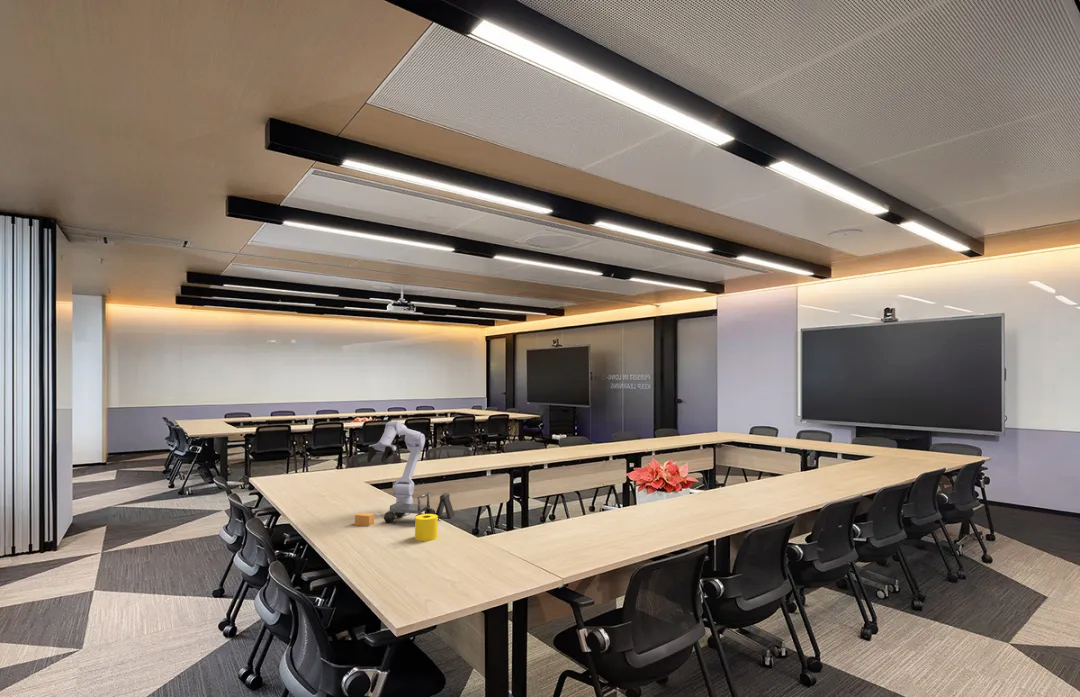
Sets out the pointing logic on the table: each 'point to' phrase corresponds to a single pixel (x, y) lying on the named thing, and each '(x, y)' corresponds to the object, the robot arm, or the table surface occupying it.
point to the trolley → (408, 509)
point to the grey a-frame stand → (448, 507)
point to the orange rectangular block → (364, 519)
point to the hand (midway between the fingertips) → (375, 460)
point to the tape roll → (426, 527)
